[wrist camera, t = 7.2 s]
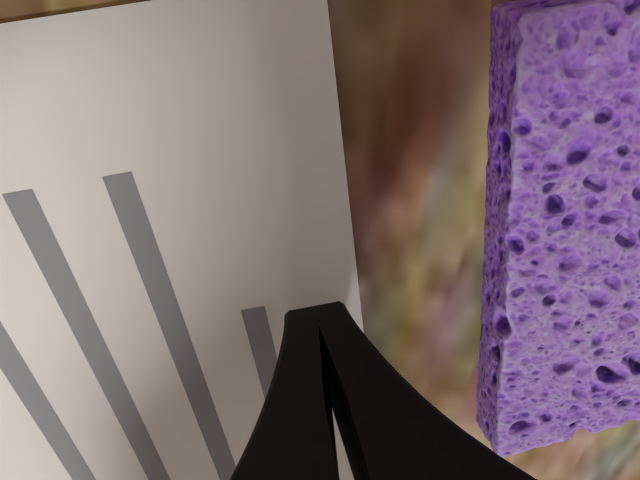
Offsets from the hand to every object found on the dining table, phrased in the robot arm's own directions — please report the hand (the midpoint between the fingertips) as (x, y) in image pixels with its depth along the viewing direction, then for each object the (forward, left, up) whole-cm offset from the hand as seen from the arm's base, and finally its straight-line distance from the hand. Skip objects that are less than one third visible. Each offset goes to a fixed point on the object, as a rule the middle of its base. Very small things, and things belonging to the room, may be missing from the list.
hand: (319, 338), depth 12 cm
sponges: (+1, -8, -2) cm, 8 cm away
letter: (0, +4, -1) cm, 4 cm away
